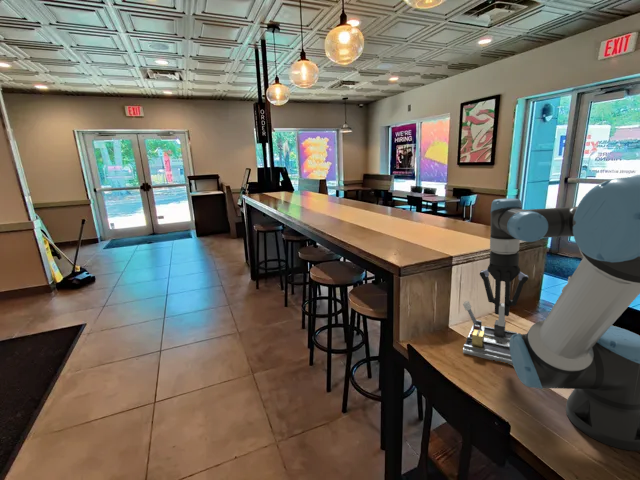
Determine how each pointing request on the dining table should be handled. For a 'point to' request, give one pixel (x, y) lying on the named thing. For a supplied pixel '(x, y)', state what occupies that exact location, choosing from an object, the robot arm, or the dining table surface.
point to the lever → (470, 311)
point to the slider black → (499, 329)
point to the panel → (490, 344)
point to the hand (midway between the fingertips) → (501, 324)
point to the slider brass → (478, 338)
